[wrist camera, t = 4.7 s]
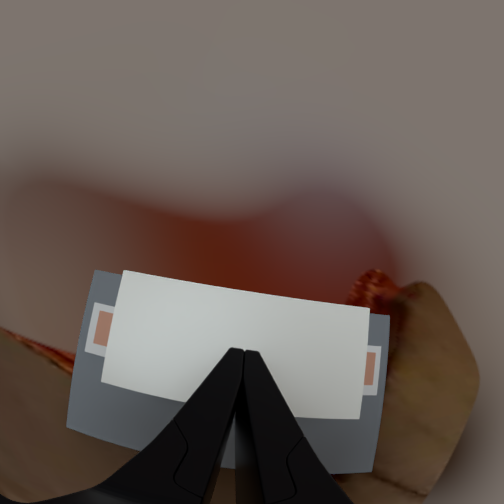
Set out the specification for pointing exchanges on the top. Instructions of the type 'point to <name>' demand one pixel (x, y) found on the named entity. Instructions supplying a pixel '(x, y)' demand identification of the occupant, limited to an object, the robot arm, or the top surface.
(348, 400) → the block
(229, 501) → the top surface
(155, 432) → the plate
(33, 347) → the top surface
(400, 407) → the top surface
